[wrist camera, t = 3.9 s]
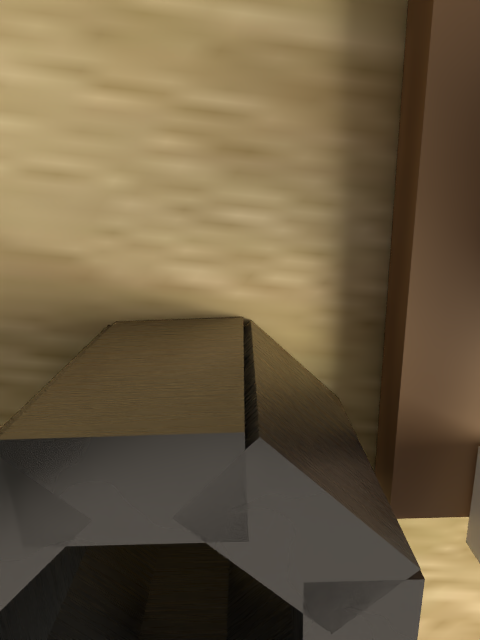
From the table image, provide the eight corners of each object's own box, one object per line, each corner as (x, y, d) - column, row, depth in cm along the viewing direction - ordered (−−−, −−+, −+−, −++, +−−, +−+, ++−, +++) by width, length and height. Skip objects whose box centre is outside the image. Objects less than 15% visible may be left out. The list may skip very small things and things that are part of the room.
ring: (68, 577, 12) (-43, 822, 7) (16, 324, 10) (-196, 445, 5) (334, 570, 12) (395, 815, 7) (344, 313, 10) (443, 425, 5)
